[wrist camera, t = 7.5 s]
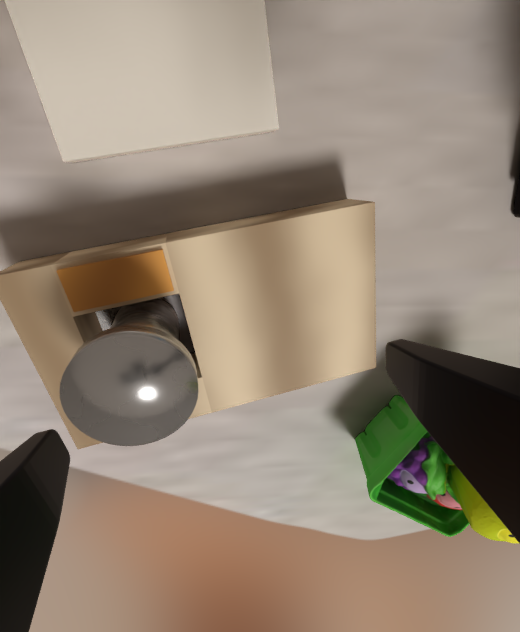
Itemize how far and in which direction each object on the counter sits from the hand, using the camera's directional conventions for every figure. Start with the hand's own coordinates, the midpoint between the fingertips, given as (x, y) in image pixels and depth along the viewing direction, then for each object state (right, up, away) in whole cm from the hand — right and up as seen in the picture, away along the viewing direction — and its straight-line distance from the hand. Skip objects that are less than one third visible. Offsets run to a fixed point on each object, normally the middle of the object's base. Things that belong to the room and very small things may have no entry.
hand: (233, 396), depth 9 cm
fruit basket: (+14, -8, +20) cm, 25 cm away
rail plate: (-2, +2, +11) cm, 12 cm away
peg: (-6, +2, +11) cm, 12 cm away
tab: (-4, +14, +6) cm, 16 cm away
